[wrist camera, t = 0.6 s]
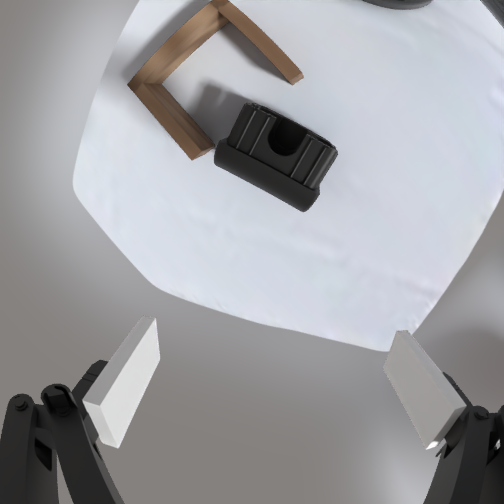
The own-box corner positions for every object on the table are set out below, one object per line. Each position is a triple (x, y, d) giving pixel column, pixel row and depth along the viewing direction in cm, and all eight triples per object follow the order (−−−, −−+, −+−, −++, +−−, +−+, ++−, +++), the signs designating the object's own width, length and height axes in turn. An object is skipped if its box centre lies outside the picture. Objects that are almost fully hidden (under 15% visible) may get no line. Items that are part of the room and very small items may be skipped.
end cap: (227, 157, 30) (205, 170, 24) (254, 101, 26) (237, 100, 21) (305, 199, 31) (302, 222, 25) (337, 146, 27) (343, 157, 21)
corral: (231, 5, 21) (220, -6, 17) (303, 77, 24) (301, 72, 20) (146, 85, 27) (127, 84, 24) (206, 153, 30) (191, 160, 27)
